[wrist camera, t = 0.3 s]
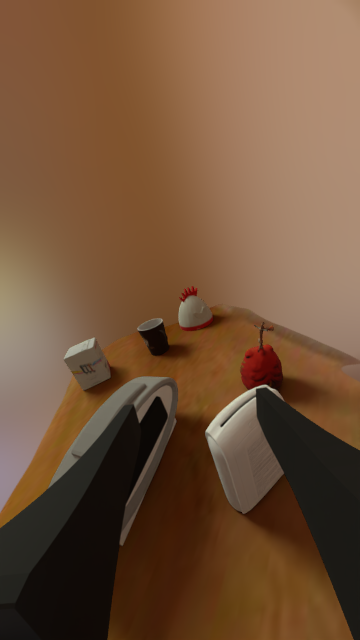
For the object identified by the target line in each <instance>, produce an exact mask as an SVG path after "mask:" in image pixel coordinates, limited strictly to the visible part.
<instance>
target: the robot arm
mask: <svg viewBox="0 0 360 640" xmlns="http://www.w3.org/2000/svg"><path fill="white" fill-rule="evenodd" d="M256 412H257V419H258V421H259V424H260V426H261V429H262V431H263V434H264V436H265V438H266V440H267V442H268V444H269V446H270V447H271V449H272V451H273V453H274V455H275V457H276V459H277V461H278V463H279V464H280V466H281V468H282V470H283V472H284V474H285V476H286V478H287V480H288V482H289V484H290V486H291V488H292V490H293V492H294V494H295V496H296V499H297V501H298V503H299V505H300V508H301V510H302V512H303V515H304V517H305V519H306V522H307V524H308V526H309V529H310V531H311V534H312V536H313V538H314V541H315V543H316V545H317V548H318V550H319V553H320V555H321V558H322V560H323V563H324V565H325V568H326V570H327V572H328V575H329V577H330V580H331V582H332V585H333V587H334V590H335V592H336V595H337V598H338V600H339V603H340V605H341V608H342V610H343V613H344V616H345V618H346V621H347V623H348V626H349V628H350V631H351V634H352V636H353V639H354V640H360V450H358V449H356V448H354V447H352V446H351V445H349V444H347V443H345V442H344V441H342V440H340V439H339V438H337V437H335V436H334V435H332V434H330V433H329V432H327V431H326V430H324V429H322V428H321V427H319V426H318V425H316V424H315V423H313V422H312V421H310V420H309V419H308V418H306V417H305V416H303V415H302V414H301V413H299V412H298V411H296V410H295V409H294V408H292V407H291V406H290V405H288V404H287V403H286V402H285V401H283V400H282V399H281V398H279V397H278V396H277V395H276V394H274V393H273V392H272V391H271V390H269V389H268V388H267V387H264V388H256ZM140 438H141V427H140V424H139V420H138V417H137V413H136V409H135V406H134V404H131V405H124V406H123V407H122V409H121V410H120V411H119V412H118V414H117V415H116V416H115V417H114V419H113V420H112V421H111V422H110V424H109V425H108V426H107V427H106V429H105V430H104V431H103V432H102V434H101V435H100V436H99V437H98V438H97V440H96V441H95V442H94V443H93V444H92V445H91V446H90V447H89V449H88V450H87V451H86V452H85V453H84V454H83V455H82V456H81V457H80V459H79V460H78V461H77V462H76V463H75V464H74V465H73V466H72V467H71V468H70V469H69V470H68V471H67V472H66V473H65V474H64V475H63V476H62V477H60V478H59V479H58V480H57V481H56V482H55V483H54V484H53V485H52V486H51V487H49V488H48V489H47V490H46V491H45V492H44V493H43V494H42V495H41V496H39V497H38V498H37V499H36V500H35V501H34V502H32V503H31V504H30V505H29V506H28V507H26V508H25V509H24V510H23V511H21V512H20V513H19V514H18V515H16V516H15V517H14V518H13V519H12V520H10V521H9V522H8V523H6V524H5V525H4V526H3V527H1V528H0V640H107V638H108V629H109V620H110V611H111V603H112V595H113V587H114V580H115V572H116V565H117V558H118V551H119V544H120V537H121V531H122V525H123V519H124V512H125V507H126V502H127V497H128V493H129V489H130V485H131V481H132V477H133V473H134V468H135V464H136V460H137V456H138V451H139V445H140Z"/></svg>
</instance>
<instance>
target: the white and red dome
mask: <svg viewBox="0 0 360 640" xmlns="http://www.w3.org/2000/svg"><path fill="white" fill-rule="evenodd" d="M184 291H185V295H184V294H183V293H182V295H183V298H184V299H182V298H180V297H179V298H180V300H182V303H181V305H180V308H179V324H180V327H181V329H182V330H185V331H193V330H198V329H201V328H204V327H206V326H208V325H209V324H210V323H211V322H212V321H213V316H212V313H211V311H210V309H209V307H208V306H207V304H206V303H205V302H204V301H203V300H202V299H200V298H199V297H197V288H196V289H195V290H194V287H193V286H192V291H190V289H189V288H188V292H187V291H186V289H184Z"/></svg>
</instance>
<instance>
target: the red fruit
mask: <svg viewBox="0 0 360 640" xmlns="http://www.w3.org/2000/svg"><path fill="white" fill-rule="evenodd" d="M263 324H264V322H263V323H262V324H261V327H257V326H256V325H254V326H255V327H257V328H259V329H260V338H259V339H258V341H259V343H260V346H257V347H254V348H250V349H248V350H246V353H245V358H244V359H243V362H242V364H241V367H240V372H241V375H242V377H241V378H242V382H243V383H244V385H245V386H246V388H247V389H248V390H251V389H253V388H255V387H258V386H262V385H268V386H269V387H270V388H272V389H275V390H277V391H278V388H279V387H280V386H281V384H282V381H283V374H282V366H281V362H280V360H279V358H278V356H277V354H276V353H275V352H274V351H273V348H272V347H271V346H270V345H267V344H266V345H262V343H263V340H262V334H263V331H268V330H272V331H273V330H274V327H273V325H272V326H271V327H270V328H264V326H263Z"/></svg>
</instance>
